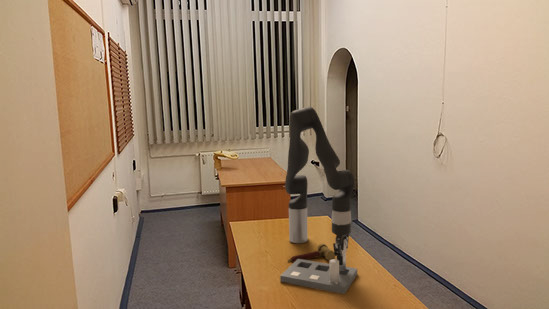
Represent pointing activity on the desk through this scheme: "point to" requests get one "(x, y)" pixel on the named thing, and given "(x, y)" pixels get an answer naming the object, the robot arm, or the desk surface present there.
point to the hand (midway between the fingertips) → (341, 262)
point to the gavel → (316, 254)
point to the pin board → (319, 275)
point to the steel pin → (343, 266)
